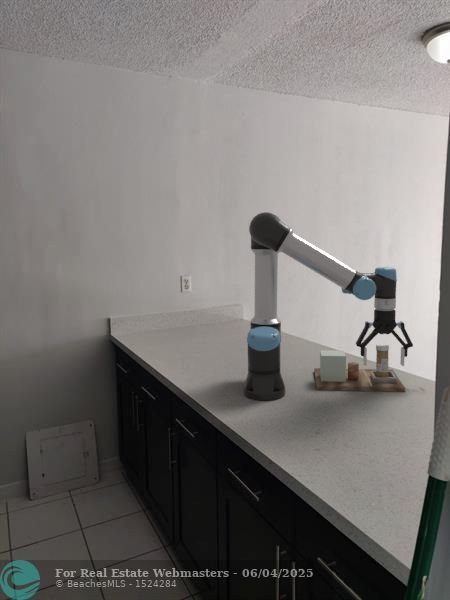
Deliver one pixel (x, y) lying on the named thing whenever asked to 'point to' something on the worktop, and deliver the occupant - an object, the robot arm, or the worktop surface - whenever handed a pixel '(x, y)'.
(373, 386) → the board
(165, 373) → the worktop surface
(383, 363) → the sprinkles bottle
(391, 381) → the socket
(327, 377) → the cover
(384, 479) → the worktop surface
